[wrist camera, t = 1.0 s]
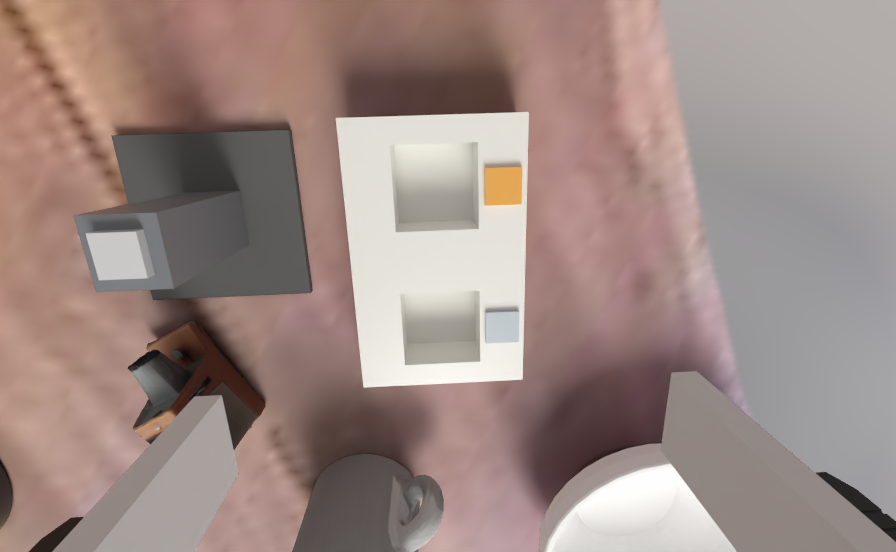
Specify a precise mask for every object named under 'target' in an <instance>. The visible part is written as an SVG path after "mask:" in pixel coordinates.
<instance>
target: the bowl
mask: <svg viewBox="0 0 896 552" xmlns="http://www.w3.org/2000/svg"><path fill="white" fill-rule="evenodd" d="M661 444H662V443H658V444H646V445H641V446H636V447H631V448H627V449H624V450H621V451H619V452H616V453H613V454H611V455H608V456H605V457H603V458H602V459H600V460H598V461H596V462H595V463H593V464H591V465H589V466H587V467H586V468H584V469H583V470H582V471H581V472H579V473H578V474H577V475H576V476H574V477H573V478H572V479H571V480H569V481H568V482H567V483H566V485H565V486H564V487H563V488H562V489H561V490H560V491H559V493H558V494H557V495H556V496H555V497H554V499H553V501H552V503H551V504H550V506H549V508H548V509H547V511H546V513H545V516H544V519H543V522H542V525H541V528H540V537H539V552H737V551H736V550H735V548H734V547H733V546H732V544H731V543H730V542H729V540H728V539H727V538H726V536H725V535H724V534H723V532H722V531H721V530H720V528H719V527H718V526H717V524H716V523H715V522H714V520H713V519H712V518H711V516H710V515H709V514H708V512H707V511H706V510H705V508H704V507H703V506H702V504H701V503H700V502H699V500H698V499H697V498H696V496H695V495H694V494H693V492H692V491H691V490H690V488H689V487H688V486H687V484H686V483H685V482H684V480H683V479H682V478H681V476H680V475H679V474H678V472H677V471H676V470H675V468H674V467H673V466H672V464H671V463H670V462H669V460H668V459H667V458H666V456H665V455H664V454H663V452H662V451H661Z"/></svg>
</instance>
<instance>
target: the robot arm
mask: <svg viewBox="0 0 896 552" xmlns="http://www.w3.org/2000/svg"><path fill="white" fill-rule="evenodd" d="M661 451H662V452H663V454H664V455H665V456H666V458H667V459H668V460H669V462H670V463H671V464H672V466H673V467H674V468H675V470H676V471H677V472H678V474H679V475H680V476H681V478H682V479H683V480H684V482H685V483H686V484H687V486H688V487H689V488H690V490H691V491H692V492H693V494H694V495H695V496H696V498H697V499H698V500H699V502H700V503H701V504H702V506H703V507H704V508H705V510H706V511H707V512H708V514H709V515H710V516H711V518H712V519H713V520H714V522H715V523H716V524H717V526H718V527H719V528H720V530H721V531H722V532H723V534H724V535H725V536H726V538H727V539H728V540H729V542H730V543H731V544H732V546H733V547H734V548H735V550H736V551H737V552H896V521H895V520H893V519H892V518H891V517H890V516H888V515H887V514H883V513H882V511H881V509H880V508H879V507H877V506H876V505H875V504H874V503H872V502H871V501H870V500H869V499H868V498H866V497H865V496H864V495H863V494H861V493H860V492H859V491H858V490H856V489H855V488H853V487H851V486H850V485H848V484H846V483H844V482H842V481H841V480H839V479H837V478H835V477H834V476H832V475H830V474H828V473H827V472H820V473H815V472H814V471H813V470H811V469H810V468H809V467H808V466H807V465H806V464H804V463H803V462H802V461H801V460H800V459H798V458H797V457H796V456H795V455H794V454H793V453H791V452H790V451H789V450H788V449H787V448H785V446H783V445H782V444H781V443H780V442H779V441H777V440H776V439H775V438H774V437H773V436H772V435H771V434H769V433H768V432H767V431H766V430H765V429H763V428H762V427H761V426H760V425H759V424H758V423H757V422H755V421H754V420H753V419H752V418H751V417H750V416H748V415H747V414H746V413H745V412H744V411H743V410H741V409H740V408H739V407H738V406H737V405H736V404H734V403H733V402H732V401H731V400H730V399H729V398H727V397H726V396H725V395H724V394H723V393H722V392H721V391H719V390H718V389H717V388H716V387H715V386H714V385H712V384H711V383H710V382H709V381H708V380H707V379H705V378H704V377H703V376H702V375H701V374H700V373H698V372H697V371H691V372H672V373H671V380H670V387H669V394H668V401H667V408H666V415H665V422H664V429H663V437H662V444H661ZM238 474H239V472H238V468H237V463H236V458H235V454H234V449H233V445H232V440H231V435H230V431H229V426H228V422H227V417H226V412H225V408H224V403H223V398H222V395H214V396H195V397H194V398H193V399H192V400H191V401H190V402H189V403H188V404H187V405H186V406H185V408H184V409H183V410H182V411H181V412H180V413H179V414H178V415H177V416H176V417H175V418H174V420H173V421H172V422H171V423H170V424H169V425H168V426H167V427H166V428H165V429H164V430H163V432H162V433H161V434H160V435H159V436H158V437H157V438H156V439H155V440H154V441H153V442H152V444H151V445H150V446H149V447H148V448H147V449H146V450H145V451H144V452H143V453H142V454H141V456H140V457H139V458H138V459H137V460H136V461H135V462H134V463H133V464H132V465H131V466H130V468H129V469H128V470H127V471H126V472H125V473H124V474H123V475H122V476H121V477H120V478H119V480H118V481H117V482H116V483H115V484H114V485H113V486H112V487H111V488H110V489H109V490H108V492H107V493H106V494H105V495H104V496H103V497H102V498H101V499H100V500H99V501H98V502H97V503H96V505H95V506H94V507H93V508H92V509H91V510H90V511H89V512H88V513H87V514H86V515H85V517H75V518H70V519H69V520H67V521H66V522H65V523H63V524H62V525H60V526H59V527H58V528H56V529H55V530H53V531H52V532H51V533H49V534H48V535H46V536H45V537H44V538H42V539H41V540H40V541H39V542H38V543H37V544H36V545H35V546H34V547H33V548H32V549H31V550H30V551H29V552H194V551H195V549H196V548H197V546H198V544H199V542H200V541H201V539H202V537H203V535H204V534H205V532H206V530H207V528H208V527H209V525H210V523H211V521H212V520H213V518H214V516H215V514H216V513H217V511H218V509H219V507H220V506H221V504H222V502H223V500H224V499H225V497H226V495H227V493H228V492H229V490H230V488H231V486H232V485H233V483H234V481H235V479H236V478H237V476H238ZM11 506H12V492H11V487H10V483H9V480H8V477H7V475H6V473H5V471H4V469H3V468H2V466H1V465H0V529H1V528H2V526H3V525H4V524H5V522H6V521H7V519H8V517H9V514H10V511H11Z"/></svg>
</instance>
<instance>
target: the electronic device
mask: <svg viewBox="0 0 896 552" xmlns="http://www.w3.org/2000/svg"><path fill="white" fill-rule="evenodd" d="M147 350H148V351H149V352H147V353H146V354H145V355H143V356H142V357H140V358H139V359H138V360H137V361H136V362H134V363H133V364H132V365H130V366H129V367H128V369H129V370H130V371H131V372H132V373H133V374H134V375H135V377H136V378H137V380H138V381H139V383H140V385H141V386H142V388H143V389H144V391H145V393H146V394H147V396H148V398H149V400H148V401H147V403H146V405H145V407H144V408H143V410H142V411H141V413H140V415H139V417H138V419H137V420H136V422H135V424H134V426H133V429H134V431H136V432H137V433H138V434H139V435H140V437H141V438H142V439H145V440H146V441H147V442H148V443H150V444H152V442H153V441H154V440H155V439H156V438H157V437H158V436H159V435H160V434H161V433H162V432H163V430H164V429H165V428H166V427H167V426H168V425H169V424H170V423H171V422H172V421H173V420H174V418H175V417H176V416H177V415H178V414H179V413H180V412H181V411H182V410H183V409H184V408H185V406H186V405H187V404H188V403H189V402H190V401H191V400H192V399H193V398H194V397H195V396H214V395H222V398H223V403H224V408H225V412H226V417H227V422H228V426H229V431H230V435H231V440H232V445H233V449H234V450H235V448H236V447H237V445H238V444H239V442H240V441H241V439H242V438H243V437H244V435H245V434H246V432H247V431H248V430H249V428H251V427H252V424H253V422H254V421H255V420H256V419H257V418H258V417H259V416H260V415H261V413H262V411H263V410H264V408H265V402H264V401H263V400H262V399H260V398H259V396H258V395H257V394H256V393H255V392H254V391H253V390H252V389H251V387H250V386H249V385H248V384H247V382H246V381H245V380H244V378H243V377H242V375H240V374H239V372H238V371H237V369H236V368H235V367H234V366H233V365H232V364H231V363H230V362H229V360H228V359H227V358H226V356H224V355H223V354H222V353H221V352H220V351H219V350H218V349H217V348H216V347H215V345H214V343H213V342H212V341H211V339H210V337H209V336H208V335H207V334H206V332H205V331H204V328H203V326H202V325H201V324H199V323H198V324H197V325H195V323H194V322H193V321H188V322H186V324H185V325H183V326H181V327H179V328H177V329H175V330H173V331H172V332H170V333H168V334H166V335H165V336H163V337H161V338H159V339H158V340H156V341H153V342H151V343H148V345H147Z"/></svg>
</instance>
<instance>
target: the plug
mask: <svg viewBox="0 0 896 552" xmlns="http://www.w3.org/2000/svg"><path fill="white" fill-rule="evenodd" d="M74 219H75V223H76V226H77V229H78V233H79V236H80V240H81V243H82V246H83V250H84V253H85V257H86V260H87V263H88V267H89V270H90V274H91V277H92V280H93V284H94V287H95V291H96V292H109V291H132V290H155V289H174V288H176V287H178V286H180V285H181V284H183V283H185V282H186V281H188V280H190V279H192V278H193V277H195V276H197V275H199V274H200V273H202V272H204V271H205V270H207V269H209V268H211V267H212V266H214V265H216V264H217V263H219V262H221V261H223V260H224V259H226V258H228V257H230V256H231V255H233V254H235V253H236V252H238V251H240V250H242V249H243V248H245V247H247V246H249V245H250V244H249V238H248V233H247V227H246V221H245V215H244V210H243V204H242V198H241V192H240V191H214V192H186V193H179V194H174V195H170V196H165V197H160V198H155V199H151V200H146V201H141V202H136V203H132V204H127V205H122V206H117V207H113V208H108V209H103V210H98V211H93V212H89V213H84V214H79V215H74Z"/></svg>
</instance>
